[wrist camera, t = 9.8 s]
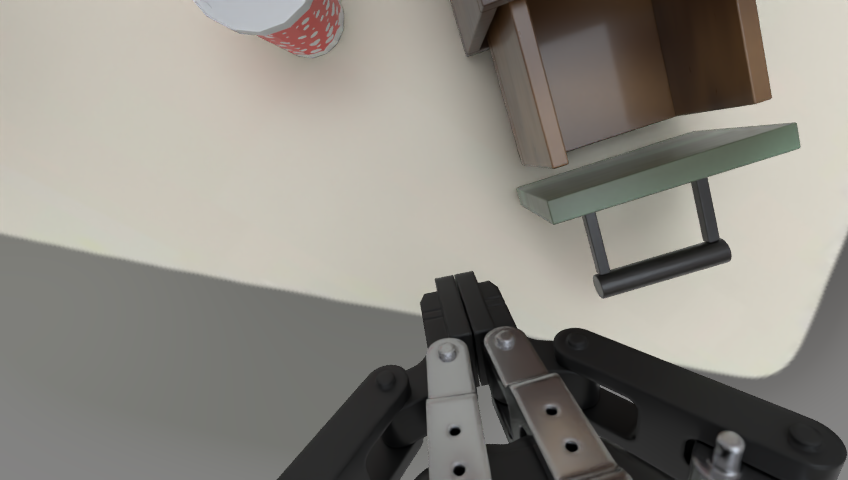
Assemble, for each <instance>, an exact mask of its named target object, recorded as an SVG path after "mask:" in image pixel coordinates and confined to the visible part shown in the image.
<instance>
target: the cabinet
mask: <svg viewBox="0 0 848 480" xmlns="http://www.w3.org/2000/svg"><path fill="white" fill-rule="evenodd" d="M512 1H514V0H450V2H451V6H452V9H453V12H454V16H455V19H456V23H457V26H458V30H459V33H460V36H461V40H462V43H463V47H464V50H465V54H466V56H467V57H469V56H472V55H475V54H477V53H480V52H483V51H486V50H489V49H490V48H489V45H488V41H487V38H486V33H487V31H488V28H489V26H490V24H491V21H492V19H493V17H494V14H495V12H496V9H497V7H498V6H500V5H503V4H506V3H509V2H512Z"/></svg>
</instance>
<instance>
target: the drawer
mask: <svg viewBox="0 0 848 480" xmlns="http://www.w3.org/2000/svg"><path fill="white" fill-rule="evenodd" d="M486 38H487V41H488V45H489V48H490V52H491V55H492V59H493V63H494V66H495V70H496V73H497V77H498V80H499V84H500V88H501V91H502V95H503V98H504V102H505V105H506V109H507V112H508V116H509V120H510V123H511V127H512V130H513V134H514V137H515V141H516V145H517V148H518V152H519V155H520V159H521V162H522V165H529V166H537V167H544V168H552V169H555V168H558V167H561V166H564V165H567V164H568V163H569V161H568V157H567V154H566V152H568V151H571V150H574V149H577V148H580V147H583V146H586V145H589V144H592V143H595V142H598V141H602V140H605V139H608V138H611V137H614V136H617V135H620V134H623V133H626V132H629V131H632V130H635V129H638V128H642V127H645V126H648V125H651V124H654V123H657V122H660V121H663V120H666V119H669V118H672V117H675V116H681V115H688V114H694V113H701V112H707V111H714V110H720V109H727V108H733V107H740V106H746V105H753V104H757V103H760V102H763V101H766V100H769V99H771V98H772V95H771V89H770V84H769V78H768V72H767V66H766V60H765V54H764V48H763V42H762V36H761V30H760V24H759V18H758V12H757V6H756V0H514V1H512V2H509V3H506V4H503V5H500V6H498V7H497V9H496V12H495V14H494V17H493V19H492V21H491V24H490V26H489V28H488V31H487V33H486ZM799 148H800V141H799V134H798V128H797V123H784V124H772V125H760V126H749V127H737V128H725V129H714V130H702V131H693V132H690V133H687V134H683V135H680V136H677V137H674V138H671V139H668V140H665V141H662V142H658V143H655V144H652V145H649V146H646V147H643V148H640V149H637V150H634V151H630V152H627V153H624V154H621V155H618V156H615V157H612V158H609V159H605V160H602V161H599V162H596V163H593V164H590V165H587V166H584V167H581V168H577V169H574V170H571V171H568V172H565V173H562V174H559V175H556V176H552V177H549V178H546V179H543V180H540V181H537V182H534V183H531V184H528V185H524V186H521V187H518V188H517V192H518V196H519V199H520V203H521V205H522V206H523V207H525V208H527V209H528V210H530V211H532V212H533V213H535V214H537V215H538V216H540V217H542V218H543V219H545V220H546V221H548V222H550V223H551V224H553V225H555V224H558V223H561V222H565V221H568V220H571V219H574V218H577V217H581V216H582V218H583V221H584V225H585V229H586V233H587V237H588V241H589V244H590V248H591V252H592V256H593V260H594V264H595V268H596V271H597V273H598V274H595V275H594V276H593V282H594V286H595V288H596V291H597V293H598V294H599V296H600V297H601V298H603V299H604V298H607V297H611V296H614V295H617V294H621V293H624V292H628V291H631V290H634V289H638V288H641V287H645V286H648V285H652V284H655V283H658V282H662V281H665V280H669V279H672V278H675V277H679V276H682V275H686V274H689V273H693V272H696V271H699V270H703V269H706V268H710V267H713V266H717V265H720V264H723V263H727V262H729V261H730V260H731V250H730V248H729V246H728V244H727V243H726V242H725V241H724V240H723V239H721V238H719V233H718V228H717V223H716V218H715V213H714V208H713V203H712V198H711V193H710V188H709V184H708V179H707V177H709V176H713V175H716V174H719V173H722V172H726V171H729V170H732V169H735V168H738V167H742V166H745V165H748V164H751V163H754V162H758V161H761V160H764V159H767V158H771V157H774V156H777V155H780V154H783V153H787V152H790V151H793V150H796V149H799ZM690 182H691V184H692V189H693V194H694V199H695V203H696V208H697V213H698V218H699V223H700V227H701V232H702V237H703V241H705V242H703V243H699V244H696V245H693V246H689V247H686V248H683V249H679V250H676V251H673V252H669V253H666V254H662V255H659V256H656V257H652V258H649V259H646V260H642V261H639V262H636V263H632V264H629V265H626V266H622V267H619V268H615V269H612V270H610V268H609V264H608V260H607V256H606V252H605V248H604V244H603V240H602V236H601V232H600V229H599V225H598V221H597V217H596V213H595V212H597V211H600V210H603V209H606V208H610V207H613V206H616V205H619V204H623V203H626V202H629V201H632V200H635V199H639V198H642V197H645V196H648V195H651V194H655V193H658V192H661V191H664V190H668V189H671V188H674V187H677V186H680V185H684V184H687V183H690Z"/></svg>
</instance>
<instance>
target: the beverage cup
mask: <svg viewBox="0 0 848 480" xmlns="http://www.w3.org/2000/svg"><path fill="white" fill-rule="evenodd" d="M193 1H194V2H195V3H196V4H197V6H198V7H199V8H200V9H201V10H202V11H203V13H204V14H205V15H206V16H207V17H209V18H211V19H213V20H214V21H216V22H218V23H220V24H222V25H224V26H226V27H228V28H229V29H231V30H233V31H236V32H238V33H240V34H248V35H256V36H258V37H260V38H262V39H264V40H266V41H269V42H271V43H273V44H275V45H277V46H279V47H281V48H283V49H285V50H287V51H289V52H291V53H293V54H295V55H297V56H299V57H311V58H314V57H317V56H320V55H323V54H326V53H328V52H329V51H330V50H331V49H332V48H333V47H334V46H335V45H336V44H337V43H338V41H339V38H340V36H341V34H342V32H343V27H344V12H343V9H342V6H341V3H340V0H193Z"/></svg>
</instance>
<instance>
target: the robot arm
mask: <svg viewBox="0 0 848 480" xmlns="http://www.w3.org/2000/svg"><path fill="white" fill-rule="evenodd" d="M454 277H455V279H454ZM435 283H436V288H437V292H432V293H427V294H424V296H423V298H422V300H421V302H420V305H421V311H422V317H423V323H424V329H425V335H426V341H427V347H428V350H427V353H426V356H425V358H424V359H423V360H422V361H421V362H420V363H419V364H418V365H416V366H414V367H412V368H410V369H408V370H406V371H405V370H404V369H403V368H402V367H400V366H396V365H386V366H382V367H380V368H378V369H376V370H374V371H373V372H372V373H370V374H369V376H368V377H367V378H366V379H365V380H364V381H363V382H362V383H361V385H360V386H359V387H358V388H357V389H356V390H355V391H354V393H353V394H352V395H351V396H350V397H349V398H348V400H347V401H346V402H345V403H344V404H343V405H342V406H341V407H340V408H339V410H338V411H337V412H336V413H335V414H334V415H333V417H332V418H331V419H330V420H329V421H328V422H327V423H326V425H325V426H324V427H323V428H322V429H321V430H320V431H319V432H318V433H317V435H316V436H315V437H314V438H313V439H312V440H311V442H310V443H309V444H308V445H307V446H306V447H305V448H304V450H303V451H302V452H301V453H300V454H299V455H298V456H297V457H296V458H295V460H294V461H293V462H292V463H291V464H290V465H289V467H288V468H287V469H286V470H285V471H284V472H283V473H282V474H281V476H280V477H279V478H278V479H277V480H400V478H401V477H402V475H403V474H404V472H405V471H406V469H407V468H408V466H409V465H410V463H411V461H412V460H413V458H414V457H415V455H416V454H417V452H418V451H419V449H420V447H421V445H422V443H423V438H424V437H425V436H427V438H428V460H429V467H428V468H427V469H425V470H424V471H423V472H422V473H421V474H419V475H418V476H417V477H416V479H414V480H837V478H838V476H839V474H840V471H841V469H842V467H843V464H844V462H845V460H846V456H847V451H846V448H845V445H844V444H843V442H842V440H841V439H840V438H839V437H838V436H837V435H836V434H835V433H834V432H833V431H832V430H830V429H829V428H828V427H826V426H824V425H823V424H821V423H819V422H818V421H815V420H813V419H810V418H808V417H806V416H803V415H800V414H798V413H796V412H793V411H791V410H788V409H786V408H783V407H780V406H778V405H775V404H773V403H770V402H768V401H765V400H763V399H760V398H758V397H755V396H753V395H750V394H747V393H745V392H743V391H740V390H737V389H735V388H732V387H730V386H727V385H725V384H722V383H720V382H717V381H715V380H712V379H710V378H707V377H704V376H702V375H699V374H697V373H694V372H692V371H689V370H687V369H684V368H682V367H679V366H677V365H674V364H672V363H669V362H666V361H664V360H661V359H659V358H656V357H654V356H651V355H649V354H646V353H644V352H641V351H639V350H636V349H634V348H631V347H628V346H626V345H623V344H621V343H618V342H616V341H613V340H611V339H608V338H606V337H603V336H601V335H598V334H596V333H593V332H590V331H588V330H585V329H581V328H569V329H565V330H562V331H560V332H559V333H558V334H557V335H556V336H555V338H554V341H543V340H535V339H531V338H528V337H527V336H526V335H525V333H524V332H522V331H521V330H520V329H517V327H516V325H515V322H514V320H513V318H512V316H511V314H510V312H509V310H508V308H507V305H506V304H505V301H504V299H503V297H502V295H501V293H500V291H499V289H498V287H497V286H496V285H494V284H493V283H491V282H490V281H486V282H481V283H478V282H477V280H476V277H475V275H474V272H473V271H470V272H465V273H460V274H455V275H454V276H453V275H451V276H446V277H441V278H436V279H435ZM478 375H479V378H478ZM479 379H480V382H481V385H482V386H483V385H488V384H489V386H490V390H491V395H492V402H493V406H494V408H495V410H496V413H497V415H498V418H499V420H500V422H501V425H502V427H503V430H504V432H505V434H506V437H507V439H508V442H509V444H501V445H500V444H485V438H484V433H483V427H482V421H481V416H480V410H479V405H478V395H477V388H476V387H478V386H480V385H479ZM600 385H602V386H604V387H606V388H608V389H610V390H613V391H615V392H617V393H619V394H621V395H623V396H625V397H627V398H629V399H630V400H631V401H632V402H633V403H632V402H630V401H628V400H626V399H623V398H621V397H619V396H617V395H615V394H613V393H611V392H609V391H607V390H605V389H603V388H601V387H600Z"/></svg>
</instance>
